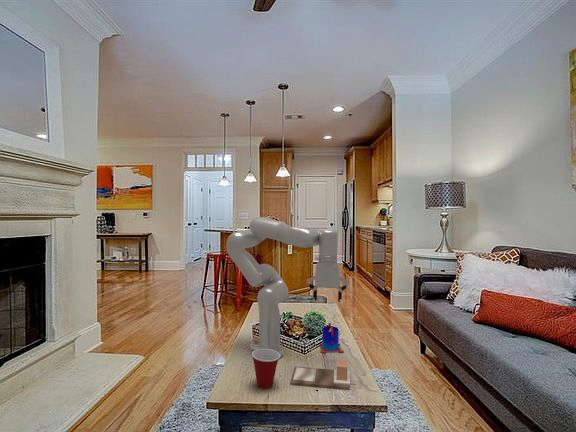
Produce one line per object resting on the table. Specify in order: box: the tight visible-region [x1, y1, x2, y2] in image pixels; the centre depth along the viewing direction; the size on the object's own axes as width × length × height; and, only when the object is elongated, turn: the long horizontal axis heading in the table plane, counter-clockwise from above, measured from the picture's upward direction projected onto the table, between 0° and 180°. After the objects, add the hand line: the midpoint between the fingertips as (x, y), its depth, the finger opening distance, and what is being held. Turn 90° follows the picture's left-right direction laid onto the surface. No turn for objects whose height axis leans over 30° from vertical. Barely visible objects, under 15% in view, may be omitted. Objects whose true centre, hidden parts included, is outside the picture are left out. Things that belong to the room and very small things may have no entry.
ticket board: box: [289, 366, 350, 391], centre depth 135 cm, size 22×13×2 cm, turn 81°
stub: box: [333, 359, 351, 386], centre depth 134 cm, size 6×10×6 cm, turn 171°
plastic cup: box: [251, 349, 281, 390], centre depth 130 cm, size 11×11×12 cm
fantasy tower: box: [318, 322, 345, 355], centre depth 164 cm, size 12×12×12 cm
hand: (327, 300), depth 144 cm, fingers open, 9 cm apart
